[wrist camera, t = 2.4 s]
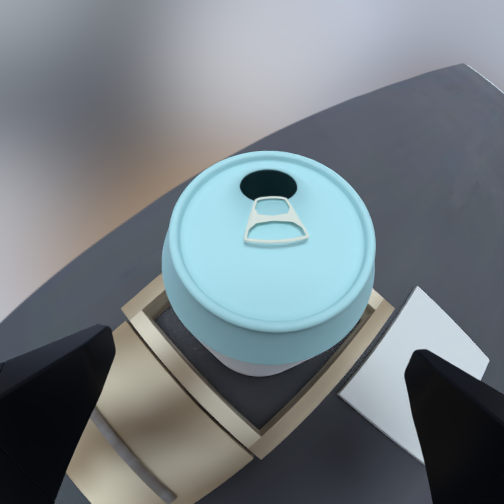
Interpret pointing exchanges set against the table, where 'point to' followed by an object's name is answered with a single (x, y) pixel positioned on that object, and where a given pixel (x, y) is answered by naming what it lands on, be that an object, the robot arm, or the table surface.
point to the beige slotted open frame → (184, 414)
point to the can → (269, 260)
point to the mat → (396, 360)
